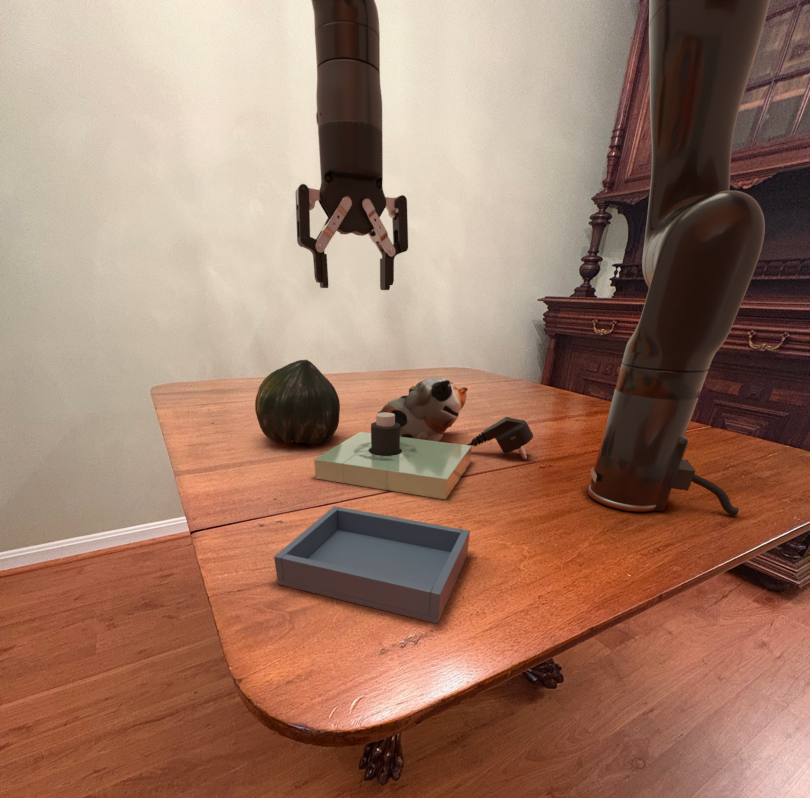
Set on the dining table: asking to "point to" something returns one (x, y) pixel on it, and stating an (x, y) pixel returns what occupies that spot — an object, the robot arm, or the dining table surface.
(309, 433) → the squash
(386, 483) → the drain board
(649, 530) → the dining table surface
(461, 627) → the dining table surface
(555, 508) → the dining table surface
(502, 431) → the power plug
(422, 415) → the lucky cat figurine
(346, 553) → the blue-grey tray
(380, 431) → the dark brown bottle
